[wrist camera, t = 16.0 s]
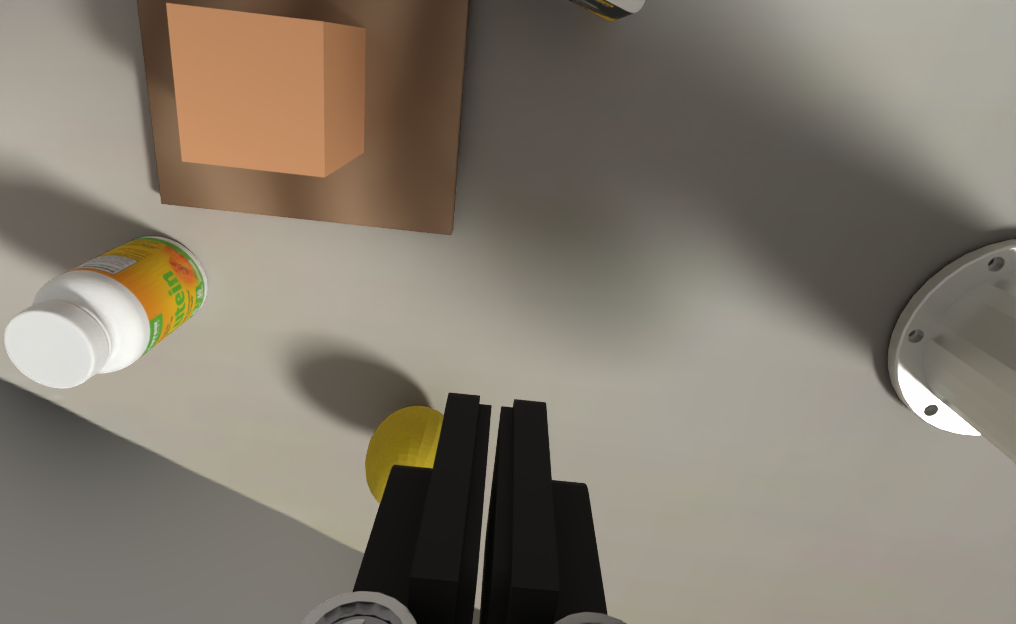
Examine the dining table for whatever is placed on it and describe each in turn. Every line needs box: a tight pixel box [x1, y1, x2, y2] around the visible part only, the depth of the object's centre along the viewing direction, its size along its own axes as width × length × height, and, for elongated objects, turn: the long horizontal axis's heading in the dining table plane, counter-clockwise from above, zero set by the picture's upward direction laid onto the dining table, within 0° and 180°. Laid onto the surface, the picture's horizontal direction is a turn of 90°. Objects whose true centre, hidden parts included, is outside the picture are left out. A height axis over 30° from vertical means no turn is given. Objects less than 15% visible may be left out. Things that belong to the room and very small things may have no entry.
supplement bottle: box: [4, 236, 207, 388], centre depth 32 cm, size 5×5×10 cm
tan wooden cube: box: [166, 3, 366, 178], centre depth 28 cm, size 6×6×7 cm
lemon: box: [365, 406, 444, 503], centre depth 36 cm, size 6×6×8 cm
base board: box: [137, 0, 470, 235], centre depth 31 cm, size 16×14×1 cm
